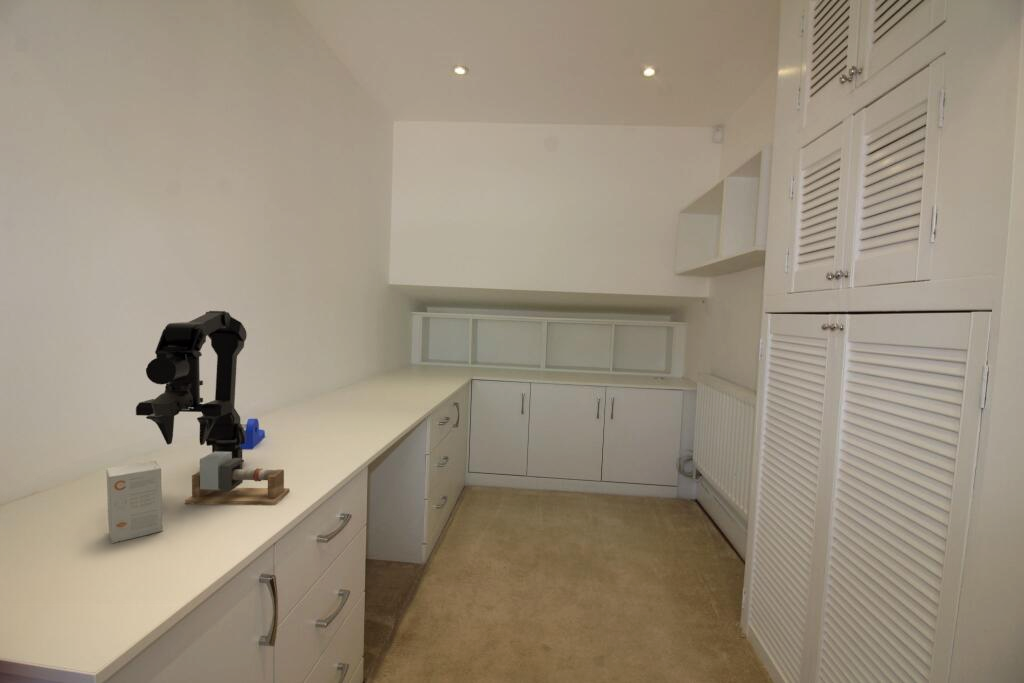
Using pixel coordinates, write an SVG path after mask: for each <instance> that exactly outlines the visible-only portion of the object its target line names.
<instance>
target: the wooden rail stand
mask: <svg viewBox="0 0 1024 683" xmlns="http://www.w3.org/2000/svg"><path fill="white" fill-rule="evenodd" d="M231 477H232V480H243V481H254V482H261V481H267V487H236V488H234V489H233V490H231V491H230V492H220V489H218V490H213V489H200V470H199V471H197V472H195V473H194V474H192V475H191V496H190V497H188V498H187V499H185V500H184V504H185V503H189V504H188V505H191V504H190V503H194V504H193V505H198V504H197V503H202V504H201V505H250V504H267V505H266V506H269V505H271V506H272V505H273V504H275V505H277V502H278V501H279V500H280V501H281V500H282V499H283V498H284V497H285V496H286V495H288V494H289V493H290V488H285V470H284V469H263V468H256V469H243V468H242V469H231ZM288 492H289V493H288ZM282 497H283V498H282ZM281 498H282V499H281ZM280 501H279V502H280ZM273 506H274V505H273Z"/></svg>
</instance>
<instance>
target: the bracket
mask: <svg viewBox="0 0 1024 683" xmlns="http://www.w3.org/2000/svg"><path fill="white" fill-rule="evenodd" d="M244 430H245V432H246V443H244V444H241V447H242V450H254V449H255V448H256V447H257V446H258V445H259V444H260V443H261V442H262V441H263V439H264V438H265V436H266V435H265V434H266V432H265V430H264V429H260V423H259V419H258V418H248V419H247V421H246V424H245V429H244ZM257 444H258V445H257ZM256 445H257V446H256ZM255 446H256V447H255ZM254 447H255V448H254ZM253 448H254V449H253Z"/></svg>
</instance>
